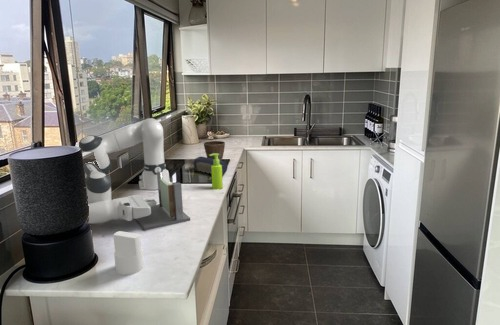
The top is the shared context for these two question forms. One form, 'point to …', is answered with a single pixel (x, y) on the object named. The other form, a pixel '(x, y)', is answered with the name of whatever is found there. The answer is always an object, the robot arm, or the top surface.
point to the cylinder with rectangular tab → (128, 253)
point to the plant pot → (214, 149)
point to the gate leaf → (167, 196)
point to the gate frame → (160, 214)
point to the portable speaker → (207, 165)
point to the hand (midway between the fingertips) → (155, 202)
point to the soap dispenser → (216, 173)
